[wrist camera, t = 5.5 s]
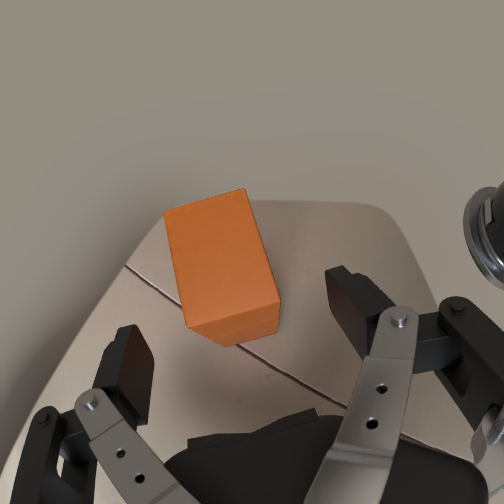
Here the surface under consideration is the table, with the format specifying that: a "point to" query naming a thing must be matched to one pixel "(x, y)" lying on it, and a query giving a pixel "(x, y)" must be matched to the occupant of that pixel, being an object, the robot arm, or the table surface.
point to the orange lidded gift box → (223, 269)
